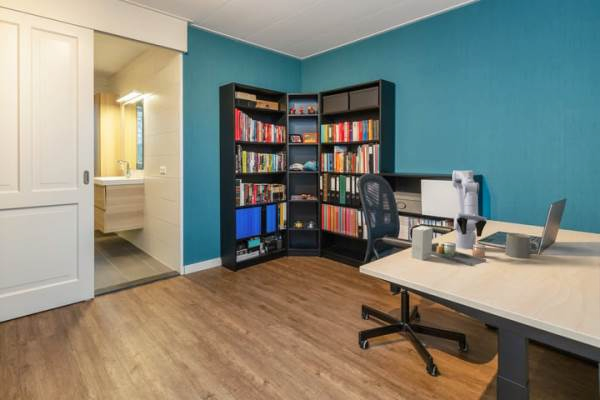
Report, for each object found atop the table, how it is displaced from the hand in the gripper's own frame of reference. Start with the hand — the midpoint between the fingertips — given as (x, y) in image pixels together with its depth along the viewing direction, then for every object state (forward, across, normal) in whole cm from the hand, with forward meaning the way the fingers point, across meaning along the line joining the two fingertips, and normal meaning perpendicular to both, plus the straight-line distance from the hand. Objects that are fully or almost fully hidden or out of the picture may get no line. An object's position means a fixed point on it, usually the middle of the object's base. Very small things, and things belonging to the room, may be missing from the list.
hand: (471, 235), depth 154 cm
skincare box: (+13, -21, +7) cm, 26 cm away
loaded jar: (+10, -7, +7) cm, 14 cm away
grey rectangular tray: (+11, -6, +6) cm, 14 cm away
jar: (+9, +6, +4) cm, 12 cm away
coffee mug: (+7, +27, +2) cm, 28 cm away
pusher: (+9, -8, +10) cm, 16 cm away
